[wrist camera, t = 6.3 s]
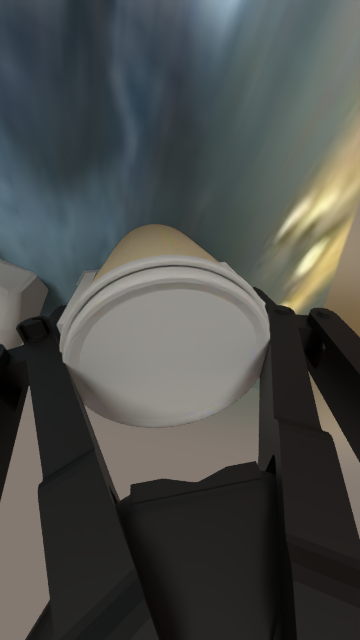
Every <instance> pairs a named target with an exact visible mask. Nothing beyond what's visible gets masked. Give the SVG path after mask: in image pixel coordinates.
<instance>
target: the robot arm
mask: <svg viewBox="0 0 360 640" xmlns="http://www.w3.org/2000/svg"><path fill="white" fill-rule="evenodd" d="M219 263H220V264H221V265H222V266H224V267H226V268H228V269H230V270H231V271H233V270H232V269H231V267H230V266H229V265H228V264H227V263H226V262H219ZM233 272H234V271H233ZM234 273H235V272H234ZM96 275H97V272H92V273H85V275H84V277H83V279H82V280H81V282H80V284H79V286H78V287H77V289H76V291H75V293H74V294H73V296H72V298H71V300H70V302H69V303H68V305H64V306H59V307H58V308H57V309H55V310H54V311H53V313H52V314H51V316H50V318H49V319H48V318H47V317H44V316H36V317H31V318H29V319H26V320H24V321H22V322H20V323H19V324H18V325H17V327H16V330H17V332H18V334H19V335H20V337H21V339H22V341H23V343H24V345H22V346H19V347H15V348H12V349H8V350H6V348H5V346H4V345H2V344H0V500H1V496H2V492H3V488H4V484H5V480H6V476H7V472H8V468H9V463H10V460H11V456H12V451H13V447H14V443H15V439H16V435H17V431H18V427H19V423H20V419H21V414H22V411H23V407H24V402H25V398H26V394H27V390H28V386H30V390H31V396H32V404H33V411H34V418H35V425H36V431H37V438H38V445H39V452H40V459H41V466H42V473H43V481H42V482H41V483H40V484H39V486H38V502H39V510H40V518H41V527H42V535H43V544H44V551H45V561H46V569H47V577H48V586H49V594H50V600H49V602H48V604H47V605H46V607H45V608H44V610H43V612H42V614H41V615H40V616H39V618H38V620H37V622H36V623H35V625H34V626H33V628H32V629H31V631H30V633H29V635H28V636H27V638H26V639H25V640H360V539H359V535H358V532H357V528H356V524H355V521H354V516H353V512H352V509H351V505H350V501H349V498H348V493H347V490H346V486H345V483H344V478H343V474H342V471H341V467H340V463H339V459H338V456H337V452H336V448H335V444H334V441H333V438H332V436H331V435H330V434H329V433H328V432H325V431H323V430H322V429H321V426H320V422H319V417H318V413H317V408H316V404H315V399H314V395H313V391H312V387H311V382H310V377H309V373H308V371H309V372H310V375H311V376H312V378H313V380H314V382H315V383H316V385H317V387H318V389H319V390H320V392H321V394H322V396H323V398H324V400H325V401H326V403H327V405H328V407H329V408H330V410H331V412H332V414H333V416H334V417H335V419H336V421H337V423H338V424H339V426H340V428H341V430H342V432H343V433H344V435H345V437H346V438H347V441H348V442H349V444H350V446H351V448H352V450H353V451H354V453H355V455H356V456H357V458H358V460H359V462H360V337H359V336H358V335H357V334H356V333H355V332H354V331H353V330H352V329H351V328H350V327H349V326H348V325H347V324H346V323H345V322H344V321H343V320H342V319H341V318H340V317H339V316H338V315H337V314H336V313H334V312H333V311H330V310H328V309H325V308H313V309H311V310H310V313H309V315H296V314H295V312H294V311H293V310H292V309H291V308H289V307H286V306H282V305H276V304H275V303H274V302H273V301H272V300H271V299H270V298H268V296H267V295H265V293H264V292H263V291H262V290H260V289H258V288H256V287H252V288H253V289H254V291H255V292H256V293H257V294H258V296H259V297H260V299H261V301H262V303H263V305H264V307H265V309H266V312H267V315H268V320H269V327H270V328H269V331H270V341H269V345H268V348H267V352H266V356H265V360H264V363H263V367H262V371H261V375H260V401H259V457H258V465H257V463H256V461H254V462H249V463H244V464H238V465H233V466H228V467H225V468H224V469H221V470H220V471H218V472H216V473H214V474H212V475H210V476H209V477H207V478H205V479H203V480H201V481H199V482H186V481H178V480H170V479H158V480H153V481H148V482H142V483H137V484H132V485H131V489H130V490H131V492H130V495H129V496H127V497H125V498H124V499H122V500H121V501H120V499H119V497H118V494H117V492H116V490H115V487H114V485H113V482H112V479H111V477H110V474H109V471H108V469H107V466H106V463H105V461H104V458H103V455H102V453H101V450H100V447H99V445H98V442H97V439H96V436H95V434H94V431H93V428H92V426H91V423H90V420H89V418H88V415H87V412H86V409H85V407H84V404H83V401H82V399H81V397H80V395H79V393H78V390H77V388H76V386H75V384H74V382H73V379H72V377H71V375H70V373H69V371H68V368H67V366H66V364H65V363H63V359H62V353H61V352H60V347H59V346H60V336H61V332H62V328H63V325H64V322H65V320H66V317H67V315H68V313H69V311H70V310H71V308H72V306H73V305H74V303H75V302H76V301H77V299H78V298H79V297H80V296H81V294H82V293H83V292H84V291H85V290H86V289H87V288H88V287H89V286H90V284H91V283H92V281H93V280H94V278H95V277H96Z"/></svg>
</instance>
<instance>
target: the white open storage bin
mask: <svg viewBox="0 0 360 640" xmlns="http://www.w3.org/2000/svg"><path fill="white" fill-rule="evenodd" d="M48 291H49V290H48V288H47V287H46V285H45V284H44V283H43V282H42V281H41V280H40V279H39V278H38V276H37V275H36V274H35V273H33V272H31V271H28V270H26V269H24V268H21V267H19V266H17V265H14V264H12V263H10V262H7V261H5V260H3V259H0V344H2V345H4V346H5V348H6V350H8V349H12V348H15V347H19V346H20V345H21V344H22V343H23V341H22V339H21V337H20V335H19V334H18V332H17V330H16V327H17V325H18V324H19V323H20V322H22V321H24V320H26V319H29V318H31V317H36V316H39V315H40V313H41V310H42V307H43V304H44V302H45V299H46V296H47V294H48Z"/></svg>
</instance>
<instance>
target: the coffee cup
mask: <svg viewBox="0 0 360 640" xmlns="http://www.w3.org/2000/svg"><path fill="white" fill-rule="evenodd" d="M269 328H270V327H269V320H268V315H267V312H266V309H265V307H264V305H263V303H262V301H261V299H260V297H259V296H258V294H257V293H256V292H255V291H254V289H253V288H252V287H251V286H250V285H249V284H248V283H247V282H246V281H245V280H244V279H243V278H241V277H240V276H238V275H237V274H236V273H234V272H233V271H231V270H230V269H228V268H226V267H224V266H222V265H221V264H220V263H219V262H218V261H217V260H216V259H214V258H213V257H212V256H211V255H210V254H208V253H207V252H206V251H205V250H203V249H202V248H201V247H200V246H198V245H197V244H196V243H195V242H193V241H192V240H191V239H190V238H188V237H187V236H186V235H184V234H183V233H181V232H180V231H178V230H176V229H174V228H172V227H169V226H166V225H160V224H150V225H145V226H141V227H138V228H136V229H134V230H132V231H131V232H129V233H128V234H127V235H126V236H124V237H123V238H122V240H121V241H120V242H119V243H118V244H117V246H116V247H115V249H114V250H113V251H112V253H111V254H110V256H109V257H108V259H107V260H106V262H105V263H104V265H103V266H102V268H101V269H100V271H99V272H98V274H97V275H96V277H95V278H94V280H93V281H92V283H91V284H90V286H89V287H88V288H87V289H86V290H85V291H84V292H83V293H82V294H81V296H80V297H79V298H78V299H77V301H76V302H75V303H74V305H73V306H72V308H71V310H70V311H69V313H68V315H67V317H66V320H65V322H64V325H63V328H62V332H61V336H60V346H59V347H60V352H61V353H62V359H63V363H65V364H66V366H67V368H68V371H69V373H70V375H71V377H72V379H73V382H74V384H75V386H76V388H77V390H78V393H79V395H80V397H81V399H82V401H83V404H84V405H85V406H87V407H88V408H89V409H91V410H92V411H94V412H95V413H97V414H99V415H100V416H103V417H104V418H107V419H109V420H112V421H115V422H118V423H121V424H125V425H130V426H136V427H147V428H164V427H174V426H179V425H185V424H189V423H193V422H196V421H199V420H202V419H205V418H208V417H210V416H212V415H215V414H216V413H219V412H221V411H222V410H224V409H226V408H227V407H229V406H230V405H232V404H234V403H235V402H236V401H238V400H239V399H240V398H241V397H242V396H243V395H245V394H246V393H247V392H248V391H249V390H250V389H251V388H252V386H253V385H254V384H255V383H256V381H257V380H258V379H259V377H260V375H261V371H262V367H263V363H264V360H265V356H266V352H267V348H268V345H269V341H270V331H269Z"/></svg>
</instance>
